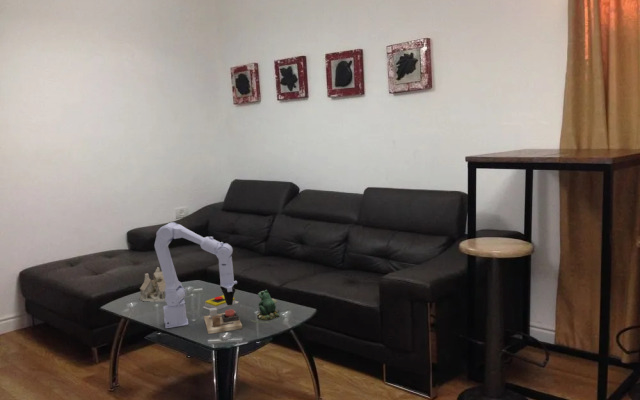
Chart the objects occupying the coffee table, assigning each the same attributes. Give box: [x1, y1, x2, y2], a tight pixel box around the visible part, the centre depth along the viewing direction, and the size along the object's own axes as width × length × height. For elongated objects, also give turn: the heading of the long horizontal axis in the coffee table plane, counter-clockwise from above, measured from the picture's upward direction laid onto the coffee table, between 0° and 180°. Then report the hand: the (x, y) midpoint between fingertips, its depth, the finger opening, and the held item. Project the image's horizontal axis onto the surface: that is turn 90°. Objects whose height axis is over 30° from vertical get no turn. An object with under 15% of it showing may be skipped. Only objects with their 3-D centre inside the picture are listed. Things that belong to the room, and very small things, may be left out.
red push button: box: [224, 308, 235, 317], centre depth 235 cm, size 4×4×2 cm
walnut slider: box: [212, 315, 221, 327], centre depth 228 cm, size 3×3×4 cm
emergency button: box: [202, 294, 240, 311], centre depth 259 cm, size 9×4×15 cm
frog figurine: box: [250, 289, 280, 324], centre depth 240 cm, size 18×18×12 cm
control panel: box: [203, 310, 243, 335], centre depth 234 cm, size 14×18×3 cm
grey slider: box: [208, 308, 218, 318], centre depth 238 cm, size 3×3×4 cm
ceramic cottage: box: [139, 267, 166, 303], centre depth 274 cm, size 16×16×15 cm
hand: (229, 303), depth 234 cm, fingers open, 3 cm apart
